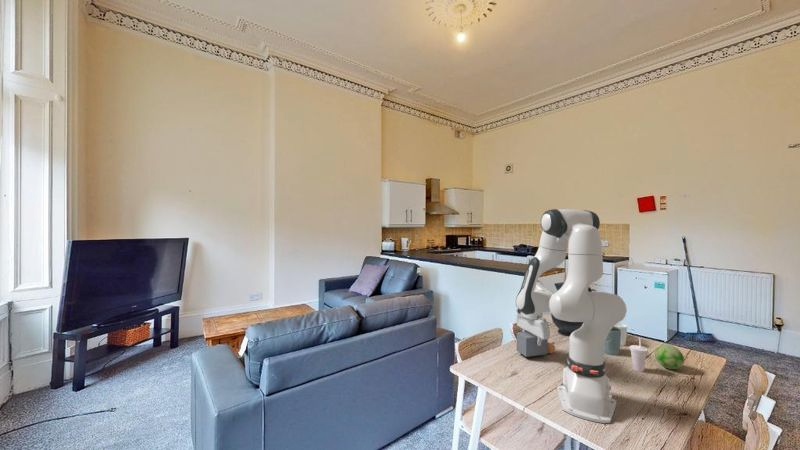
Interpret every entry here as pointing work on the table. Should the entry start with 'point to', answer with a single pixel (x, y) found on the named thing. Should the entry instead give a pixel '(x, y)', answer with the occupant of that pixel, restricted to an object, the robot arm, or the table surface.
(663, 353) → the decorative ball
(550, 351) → the ball
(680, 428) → the table surface
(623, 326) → the white cup
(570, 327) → the pitcher
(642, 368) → the smoothie
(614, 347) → the drinking glass
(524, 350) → the gray rectangular block
